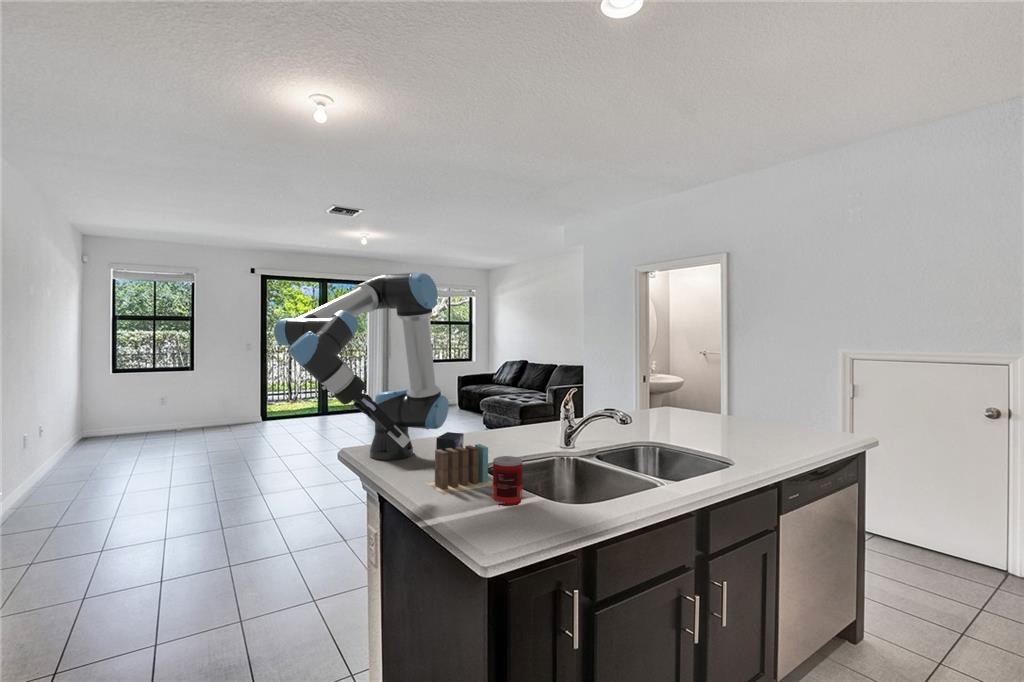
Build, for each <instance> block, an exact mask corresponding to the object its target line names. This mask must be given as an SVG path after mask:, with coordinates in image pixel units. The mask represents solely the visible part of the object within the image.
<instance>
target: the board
mask: <svg viewBox="0 0 1024 682" xmlns="http://www.w3.org/2000/svg"><path fill="white" fill-rule="evenodd" d="M425 484H427V485H428V486H429V487H431V488H433V489H434V490H436V491H437V492H439V493H441V494H442V495H449V494H454V493H461V492H464V491H465V492H466V491H469V490H476V489H480V488H486V487H491V486H492V487H493V480H490V479H489V478H488V482H484V483H483V482H481V481H479V480H478V484H472V483H470V482H468V485H467V486H462V485H460V484H458V487H456V488H452V487H450V486H449V485H448V489H446V490H442V489H440V488H438V487H437V486H435V480H433V481H428V482H425Z"/></svg>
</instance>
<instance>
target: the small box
mask: <svg viewBox="0 0 1024 682" xmlns="http://www.w3.org/2000/svg"><path fill="white" fill-rule="evenodd" d="M435 440H436V442H435V443H436V444H435V445H436V446H435V450H438V449H441V450H443V451H445V449H446V448H452V449H454V450H455V448H456V447H463V448H464V432H463V433H462V432H451V431H447V432H445V433H442V434H441V435H439V436H438V437H436V439H435Z"/></svg>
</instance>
